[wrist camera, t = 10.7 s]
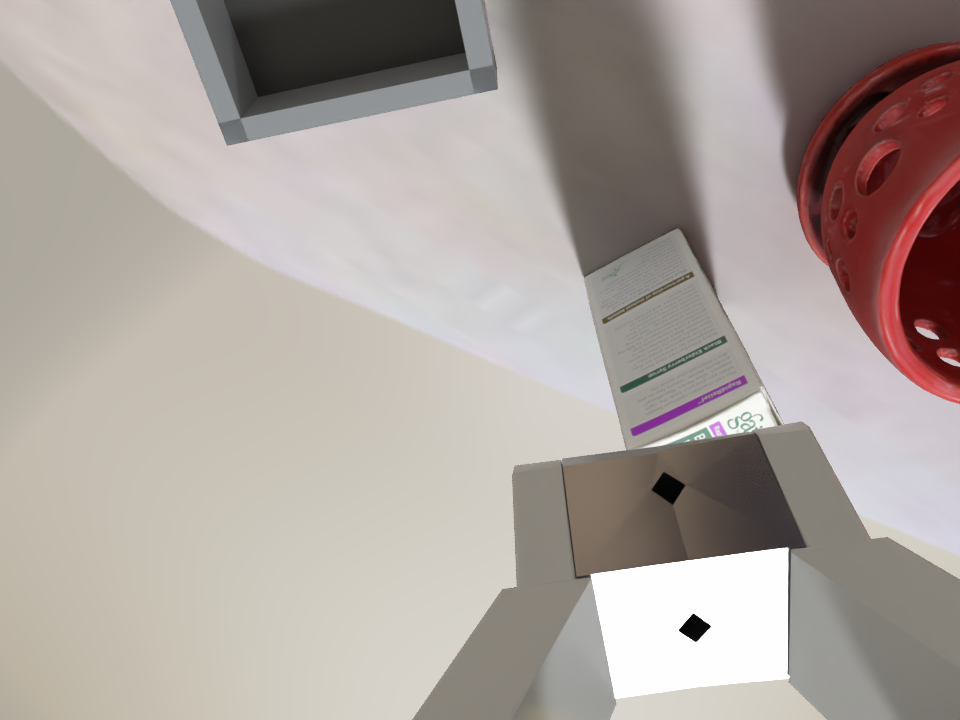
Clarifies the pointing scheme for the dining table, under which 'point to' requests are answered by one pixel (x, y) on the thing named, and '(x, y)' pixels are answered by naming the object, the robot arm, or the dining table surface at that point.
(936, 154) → the plant pot
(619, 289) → the syrup box
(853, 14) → the dining table surface
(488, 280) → the dining table surface
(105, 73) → the dining table surface
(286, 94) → the tray box
